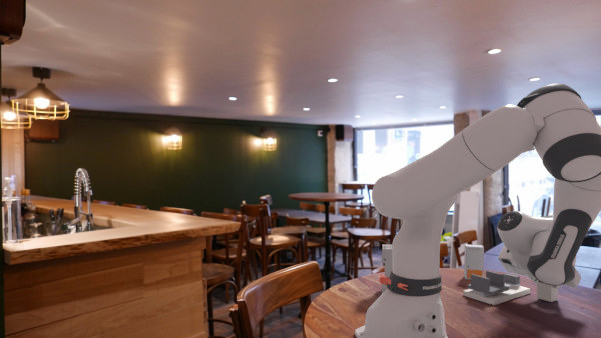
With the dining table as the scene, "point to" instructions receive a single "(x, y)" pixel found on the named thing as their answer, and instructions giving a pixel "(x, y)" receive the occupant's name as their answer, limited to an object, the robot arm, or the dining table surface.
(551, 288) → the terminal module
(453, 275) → the dining table surface
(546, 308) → the dining table surface
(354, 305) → the dining table surface
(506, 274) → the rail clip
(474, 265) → the skincare box
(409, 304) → the robot arm
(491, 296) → the board
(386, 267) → the circuit breaker
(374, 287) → the dining table surface
